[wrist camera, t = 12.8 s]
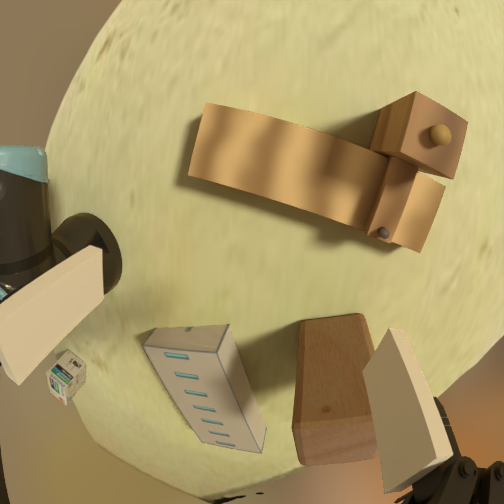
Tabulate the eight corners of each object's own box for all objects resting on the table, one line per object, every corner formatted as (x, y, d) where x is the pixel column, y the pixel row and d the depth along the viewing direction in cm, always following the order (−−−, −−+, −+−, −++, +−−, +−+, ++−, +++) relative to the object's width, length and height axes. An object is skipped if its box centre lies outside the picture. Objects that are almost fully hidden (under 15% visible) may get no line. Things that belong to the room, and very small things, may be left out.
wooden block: (298, 318, 40) (289, 430, 22) (364, 309, 38) (393, 418, 19) (305, 365, 43) (298, 468, 25) (363, 358, 41) (379, 460, 23)
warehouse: (156, 326, 47) (136, 351, 40) (229, 322, 43) (216, 352, 36) (208, 424, 56) (199, 448, 49) (266, 426, 52) (261, 453, 45)
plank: (199, 172, 35) (187, 174, 31) (216, 107, 32) (205, 102, 28) (409, 242, 33) (419, 253, 30) (432, 182, 30) (445, 186, 26)
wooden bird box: (345, 216, 34) (368, 252, 22) (380, 108, 28) (421, 88, 16) (385, 231, 33) (422, 273, 21) (420, 127, 28) (474, 121, 16)
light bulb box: (67, 348, 56) (44, 372, 46) (86, 363, 56) (64, 389, 47) (68, 368, 61) (48, 391, 51) (86, 382, 61) (66, 406, 51)
